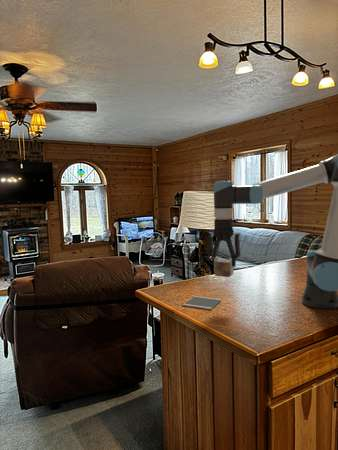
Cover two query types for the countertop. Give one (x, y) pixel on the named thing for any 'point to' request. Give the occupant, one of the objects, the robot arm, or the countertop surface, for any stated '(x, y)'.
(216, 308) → the beige flat square panel
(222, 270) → the walnut block
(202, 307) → the tray
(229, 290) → the countertop surface
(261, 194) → the robot arm
